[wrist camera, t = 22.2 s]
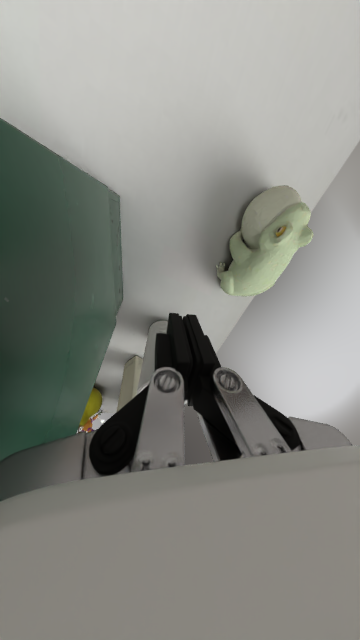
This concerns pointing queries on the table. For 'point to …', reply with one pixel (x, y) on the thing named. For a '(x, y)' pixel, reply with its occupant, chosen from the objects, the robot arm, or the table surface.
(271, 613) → the robot arm
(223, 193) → the table surface
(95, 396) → the yellow flower vase
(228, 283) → the figurine
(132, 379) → the box
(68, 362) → the bin lid
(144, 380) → the cup
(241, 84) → the table surface
